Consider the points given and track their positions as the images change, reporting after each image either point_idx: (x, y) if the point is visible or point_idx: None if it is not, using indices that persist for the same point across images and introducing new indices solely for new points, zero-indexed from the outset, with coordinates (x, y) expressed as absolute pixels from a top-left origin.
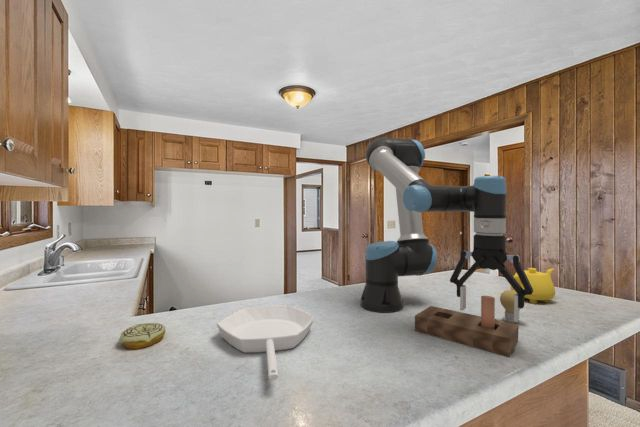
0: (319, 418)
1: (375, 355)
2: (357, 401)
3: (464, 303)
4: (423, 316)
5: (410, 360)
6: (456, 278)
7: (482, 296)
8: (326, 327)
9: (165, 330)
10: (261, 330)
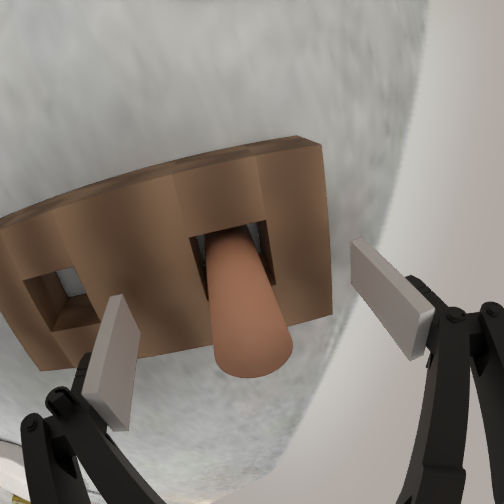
0: (215, 498)
1: (134, 447)
2: (216, 485)
3: (128, 335)
4: (54, 361)
5: (177, 430)
6: (49, 441)
7: (223, 360)
8: (6, 425)
9: (21, 500)
10: (16, 468)
